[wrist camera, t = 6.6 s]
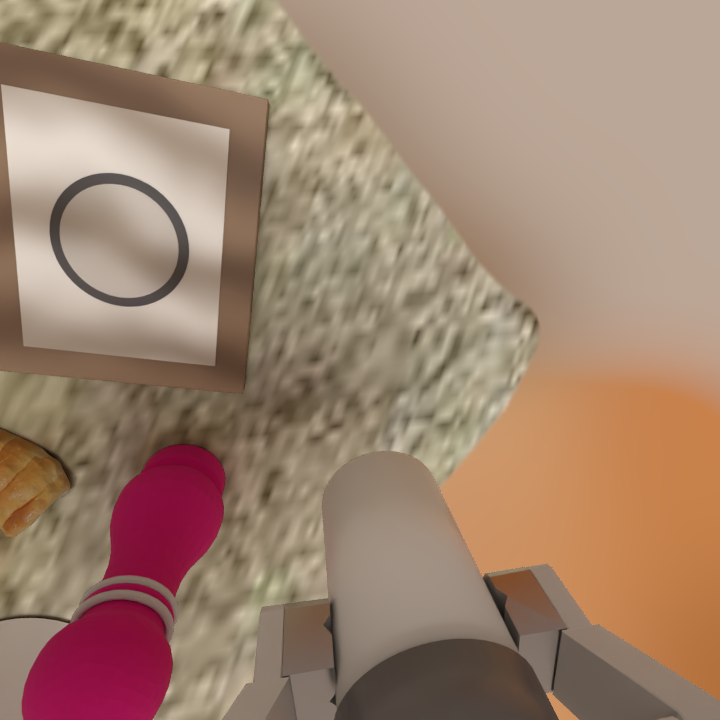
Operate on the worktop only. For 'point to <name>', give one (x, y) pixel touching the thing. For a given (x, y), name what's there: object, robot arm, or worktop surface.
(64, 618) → the worktop surface
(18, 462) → the pastry
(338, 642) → the marker
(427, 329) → the worktop surface
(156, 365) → the board
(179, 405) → the worktop surface
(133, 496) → the pepper mill
